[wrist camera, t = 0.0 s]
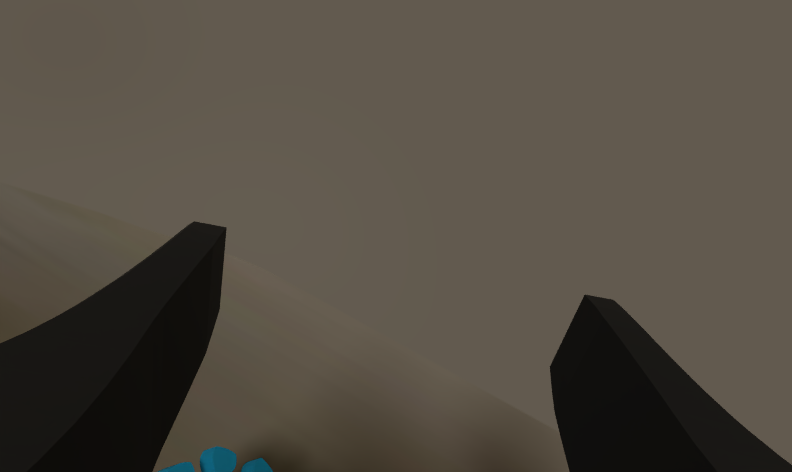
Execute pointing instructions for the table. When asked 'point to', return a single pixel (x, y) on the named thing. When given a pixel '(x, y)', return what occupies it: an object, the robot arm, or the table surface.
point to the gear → (220, 463)
